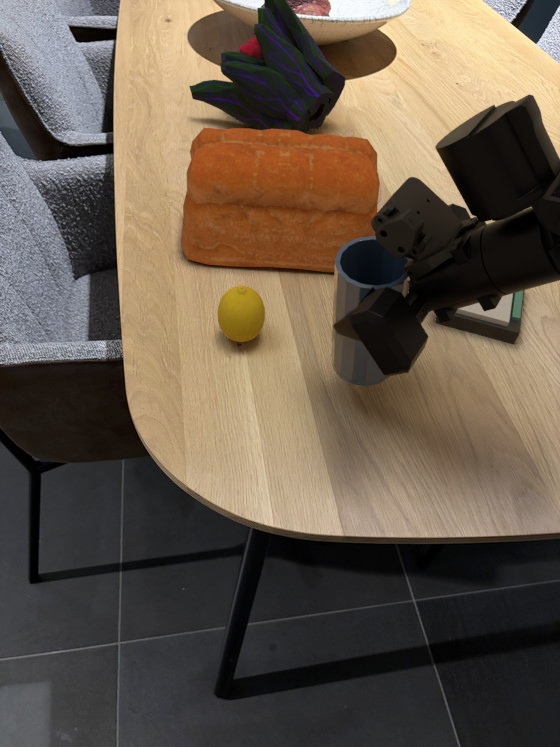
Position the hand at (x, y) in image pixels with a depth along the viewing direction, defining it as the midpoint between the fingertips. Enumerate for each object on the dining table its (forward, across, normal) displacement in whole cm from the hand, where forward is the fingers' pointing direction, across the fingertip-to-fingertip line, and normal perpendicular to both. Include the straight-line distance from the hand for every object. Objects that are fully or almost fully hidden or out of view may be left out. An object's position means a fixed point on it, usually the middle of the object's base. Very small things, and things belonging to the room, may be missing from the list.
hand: (354, 307), depth 58 cm
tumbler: (+4, -1, +6) cm, 8 cm away
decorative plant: (+39, -49, -21) cm, 66 cm away
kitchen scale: (+3, -24, +16) cm, 28 cm away
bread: (+24, -20, -5) cm, 31 cm away
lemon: (+19, -1, 0) cm, 19 cm away
